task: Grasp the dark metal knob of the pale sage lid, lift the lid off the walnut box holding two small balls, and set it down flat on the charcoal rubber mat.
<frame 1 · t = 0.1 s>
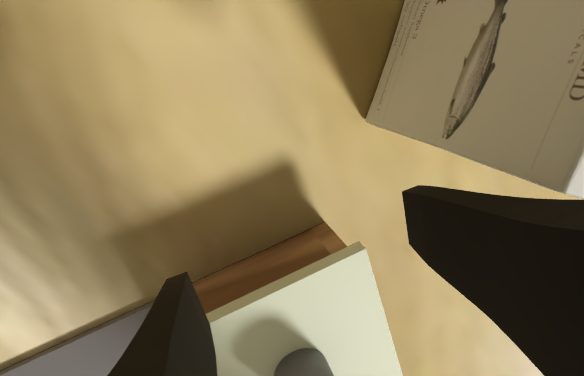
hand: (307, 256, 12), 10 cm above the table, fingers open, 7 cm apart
supplement box: (429, 77, 22), on the table
lid: (296, 359, 21), point 4 cm above the table, touching box
box: (278, 314, 24), on the table
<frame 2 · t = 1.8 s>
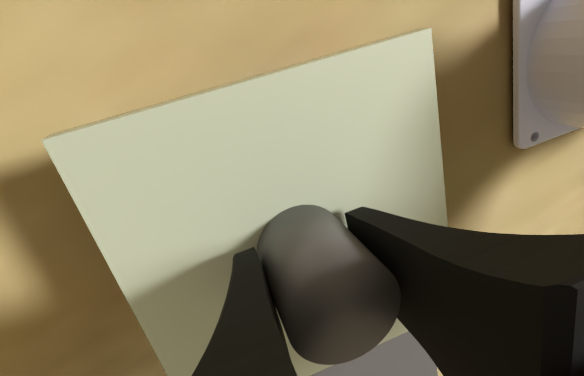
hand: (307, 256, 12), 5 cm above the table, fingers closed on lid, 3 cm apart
lid: (294, 236, 13), point 4 cm above the table, touching box, gripper
mat: (339, 374, 21), on the table
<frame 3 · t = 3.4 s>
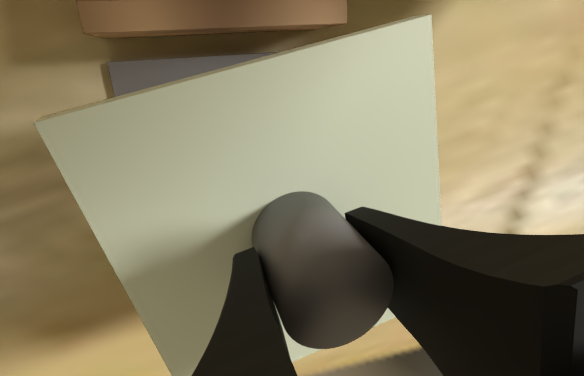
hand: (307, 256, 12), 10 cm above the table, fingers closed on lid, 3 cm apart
lid: (289, 222, 13), point 8 cm above the table, touching gripper
mat: (250, 169, 20), on the table
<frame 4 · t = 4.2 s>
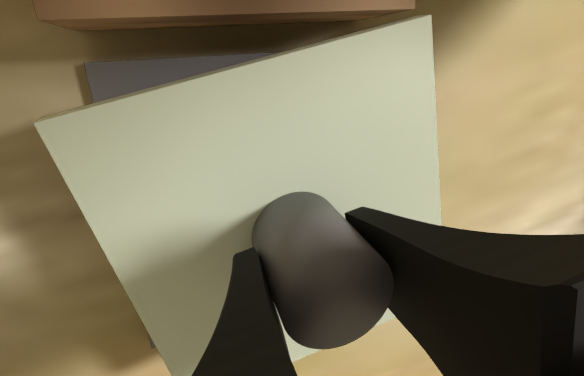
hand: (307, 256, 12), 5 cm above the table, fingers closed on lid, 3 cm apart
lid: (289, 222, 13), point 3 cm above the table, touching gripper
mat: (271, 199, 16), on the table
when the fingers open (3 cm above the table, at t = 4.9 s): lid stays where it is, resting on mat.
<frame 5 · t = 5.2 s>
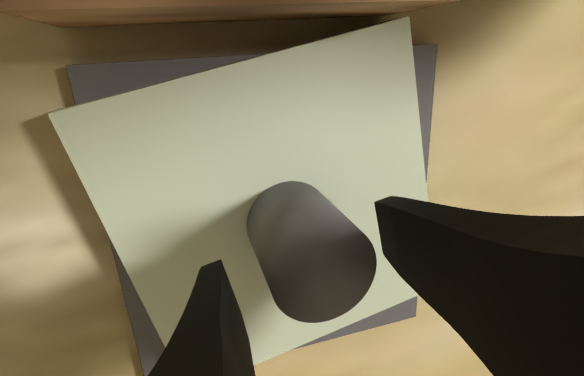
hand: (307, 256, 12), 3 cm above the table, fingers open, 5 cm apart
lid: (283, 213, 14), resting on mat
mat: (283, 219, 14), on the table
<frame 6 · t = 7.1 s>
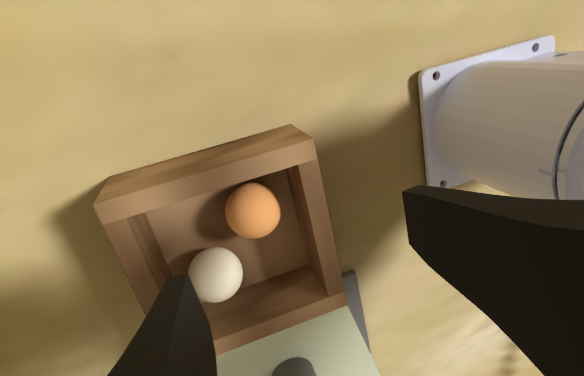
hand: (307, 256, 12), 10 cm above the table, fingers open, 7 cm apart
ball a: (248, 200, 21), resting on box
lid: (289, 365, 26), resting on mat
mat: (290, 365, 27), on the table
box: (230, 228, 22), on the table
ball b: (213, 260, 22), resting on box
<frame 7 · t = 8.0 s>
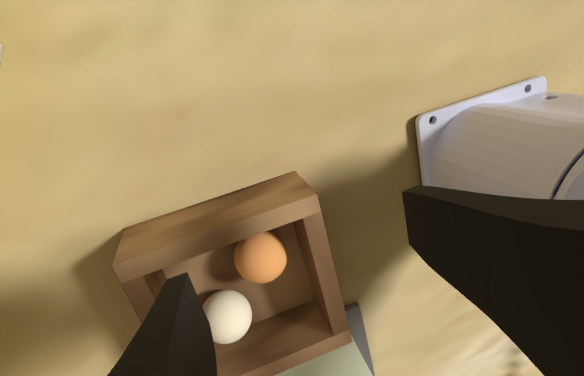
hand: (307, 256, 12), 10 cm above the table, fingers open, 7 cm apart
ball a: (256, 243, 22), resting on box
box: (238, 269, 23), on the table
ball b: (223, 300, 23), resting on box
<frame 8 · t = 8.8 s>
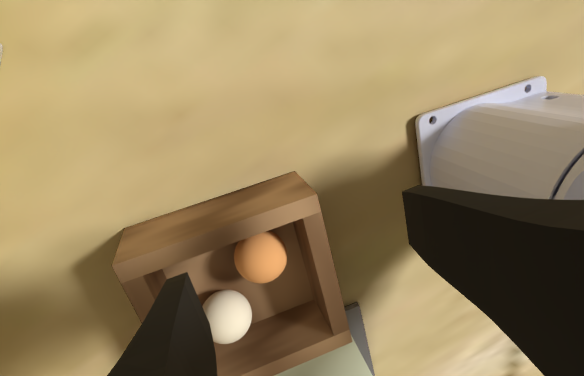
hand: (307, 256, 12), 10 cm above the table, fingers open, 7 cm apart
ball a: (256, 243, 22), resting on box
box: (238, 269, 23), on the table
ball b: (223, 300, 23), resting on box
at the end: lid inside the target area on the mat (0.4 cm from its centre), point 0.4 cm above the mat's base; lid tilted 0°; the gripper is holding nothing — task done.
